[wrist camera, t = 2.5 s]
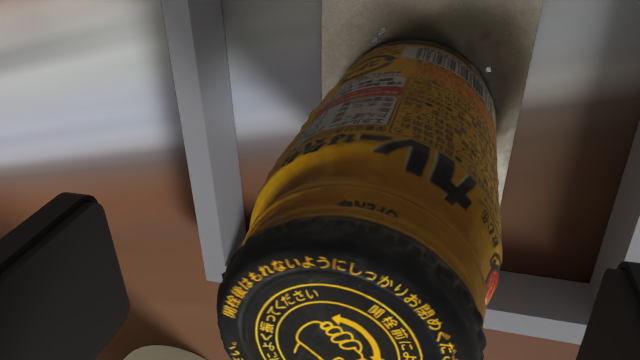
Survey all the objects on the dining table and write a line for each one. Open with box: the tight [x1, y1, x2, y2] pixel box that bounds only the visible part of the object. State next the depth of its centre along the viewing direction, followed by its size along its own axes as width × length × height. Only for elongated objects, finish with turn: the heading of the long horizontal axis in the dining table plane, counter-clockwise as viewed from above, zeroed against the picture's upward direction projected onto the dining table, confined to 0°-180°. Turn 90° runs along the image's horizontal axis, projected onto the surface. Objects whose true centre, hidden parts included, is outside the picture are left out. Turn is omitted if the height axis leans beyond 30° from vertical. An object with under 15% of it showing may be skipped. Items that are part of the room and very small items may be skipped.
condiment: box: [217, 0, 543, 360], centre depth 14 cm, size 7×8×12 cm
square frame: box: [161, 0, 640, 345], centre depth 18 cm, size 17×17×2 cm
